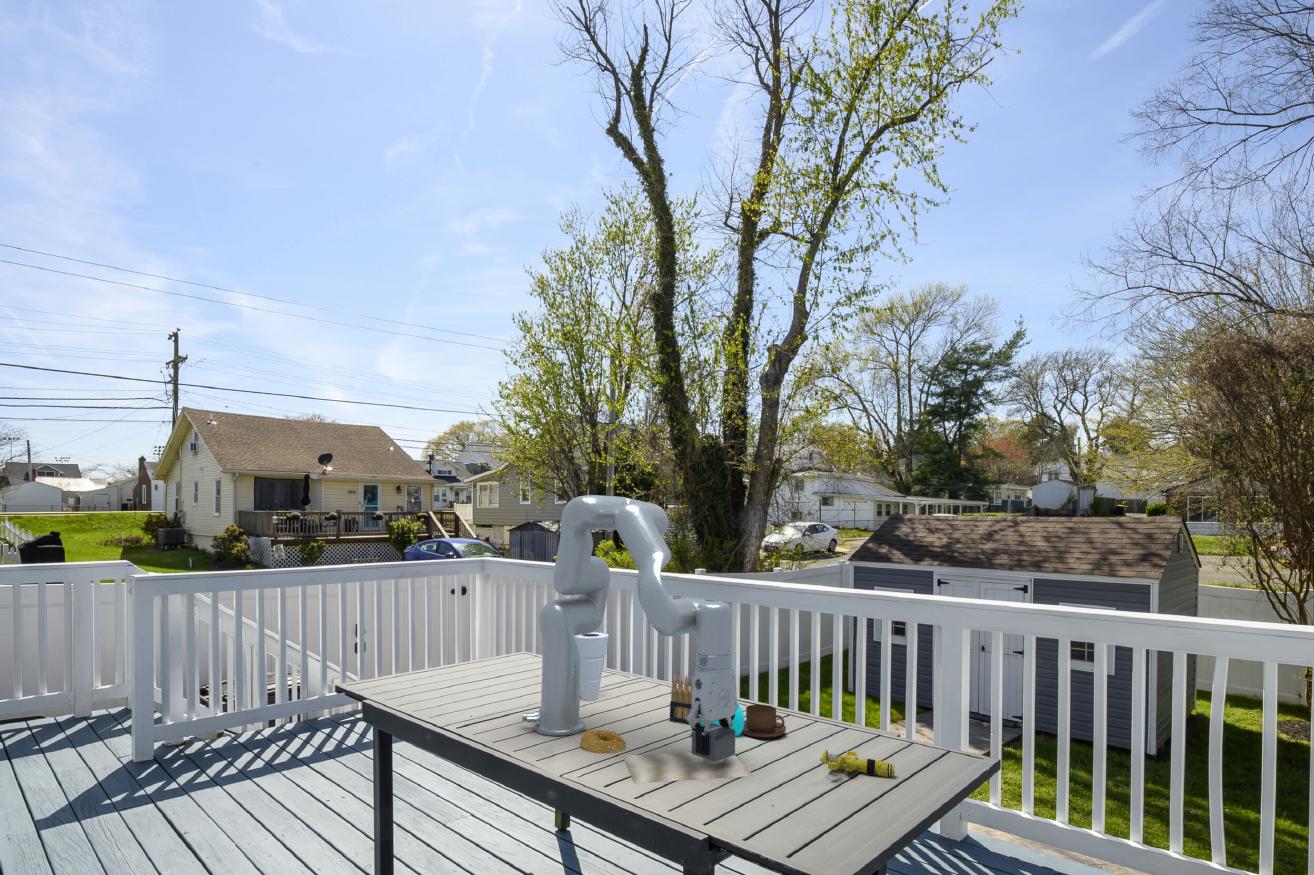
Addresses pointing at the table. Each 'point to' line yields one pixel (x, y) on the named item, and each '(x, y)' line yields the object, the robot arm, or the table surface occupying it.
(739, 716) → the donuts
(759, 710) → the cup and saucer
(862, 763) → the sprinkler
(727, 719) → the robot arm
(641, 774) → the beige wavy cloth
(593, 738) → the bagel
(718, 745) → the dark grey box
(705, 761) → the silver metal cube
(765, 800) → the table surface
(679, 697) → the ammunition clip
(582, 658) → the cup
